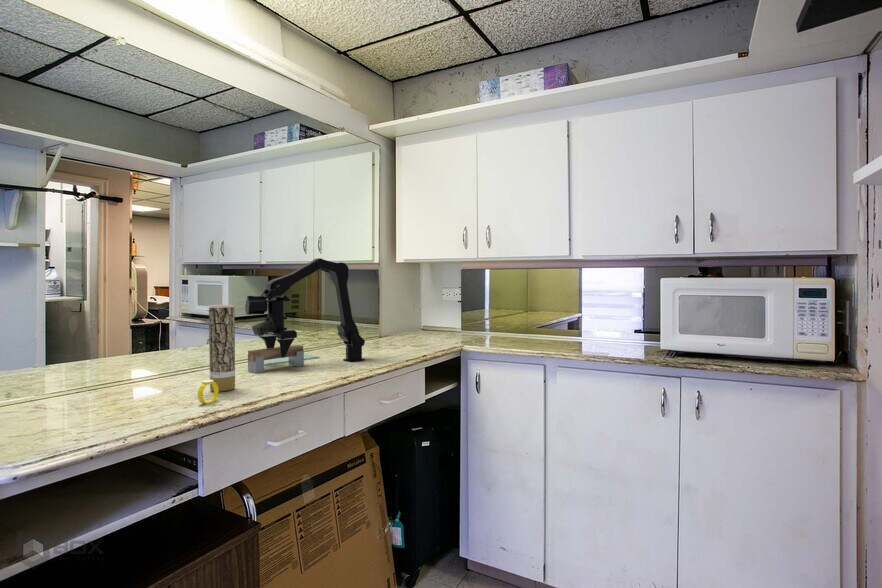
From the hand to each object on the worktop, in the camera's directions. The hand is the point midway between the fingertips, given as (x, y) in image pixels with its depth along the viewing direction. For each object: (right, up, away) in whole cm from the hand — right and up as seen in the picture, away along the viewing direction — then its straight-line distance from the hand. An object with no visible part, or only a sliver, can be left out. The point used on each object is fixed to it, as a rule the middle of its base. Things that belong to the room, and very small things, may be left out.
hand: (276, 356), depth 173 cm
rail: (0, -1, 0) cm, 0 cm away
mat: (-2, -4, +18) cm, 18 cm away
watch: (-1, -6, -48) cm, 49 cm away
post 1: (-5, -5, -6) cm, 9 cm away
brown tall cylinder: (-4, -6, -33) cm, 34 cm away
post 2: (+5, -4, +6) cm, 9 cm away
